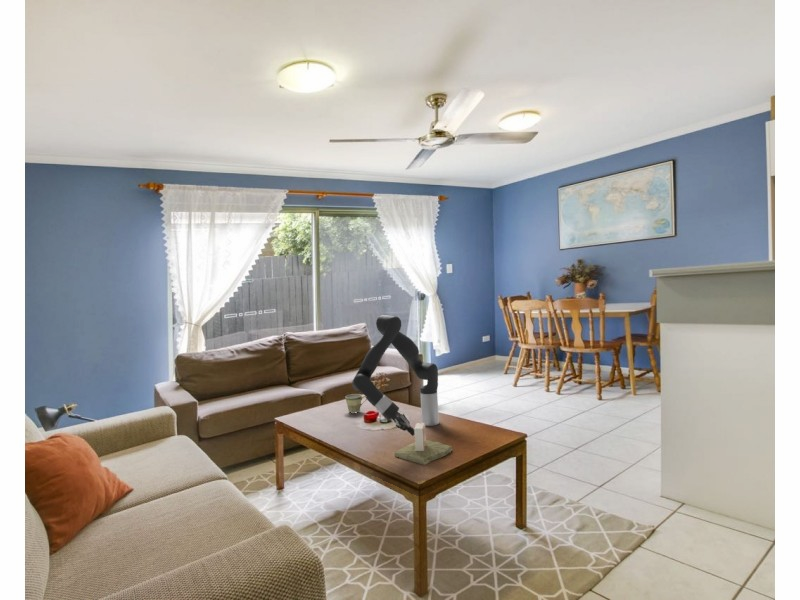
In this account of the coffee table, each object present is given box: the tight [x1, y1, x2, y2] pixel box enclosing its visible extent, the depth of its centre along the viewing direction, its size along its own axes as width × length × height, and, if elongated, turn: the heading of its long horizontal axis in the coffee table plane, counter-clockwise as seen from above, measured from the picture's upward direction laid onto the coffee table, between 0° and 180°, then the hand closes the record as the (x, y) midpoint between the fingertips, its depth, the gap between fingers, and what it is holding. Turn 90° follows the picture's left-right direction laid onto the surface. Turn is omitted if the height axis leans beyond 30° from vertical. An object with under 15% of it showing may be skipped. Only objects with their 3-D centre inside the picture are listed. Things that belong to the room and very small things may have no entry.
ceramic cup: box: [345, 393, 368, 414], centre depth 270 cm, size 13×10×10 cm
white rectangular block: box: [413, 422, 427, 451], centre depth 198 cm, size 8×4×10 cm, turn 170°
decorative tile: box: [394, 439, 453, 466], centre depth 198 cm, size 19×20×4 cm
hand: (414, 433), depth 199 cm, fingers closed
